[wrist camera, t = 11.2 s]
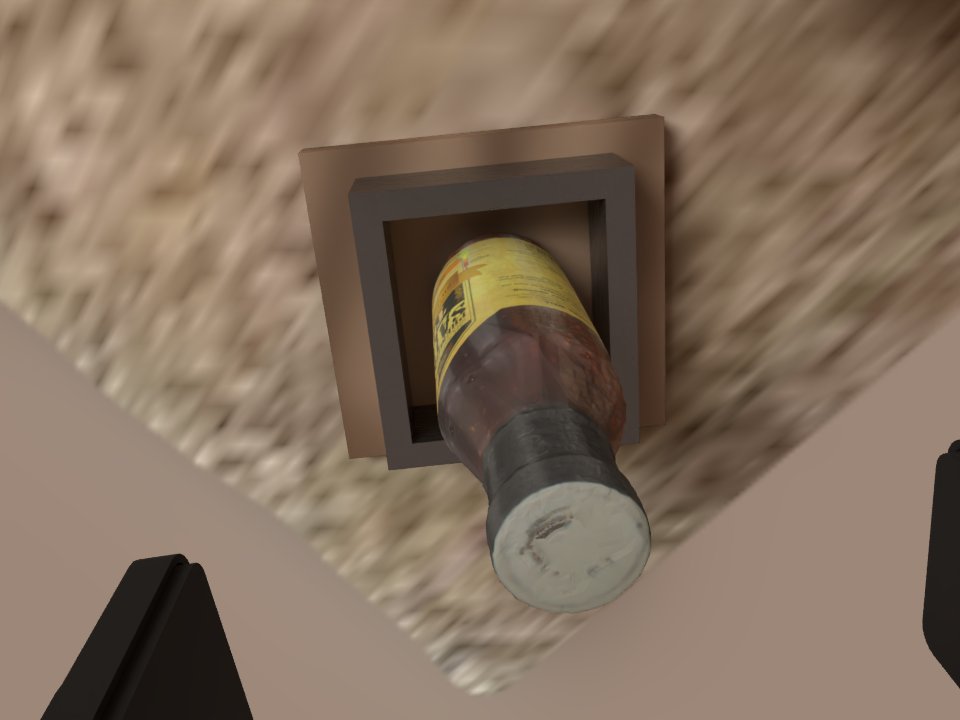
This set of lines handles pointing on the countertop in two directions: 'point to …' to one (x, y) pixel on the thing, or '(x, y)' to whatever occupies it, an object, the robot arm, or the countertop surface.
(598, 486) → the sauce bottle
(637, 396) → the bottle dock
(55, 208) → the countertop surface
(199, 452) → the countertop surface
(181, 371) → the countertop surface
